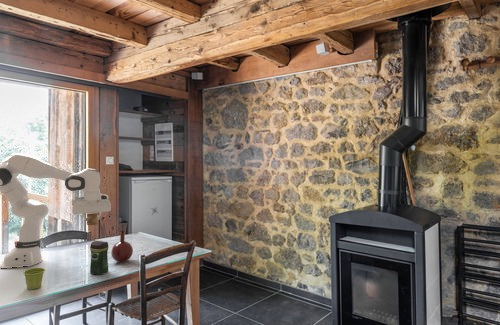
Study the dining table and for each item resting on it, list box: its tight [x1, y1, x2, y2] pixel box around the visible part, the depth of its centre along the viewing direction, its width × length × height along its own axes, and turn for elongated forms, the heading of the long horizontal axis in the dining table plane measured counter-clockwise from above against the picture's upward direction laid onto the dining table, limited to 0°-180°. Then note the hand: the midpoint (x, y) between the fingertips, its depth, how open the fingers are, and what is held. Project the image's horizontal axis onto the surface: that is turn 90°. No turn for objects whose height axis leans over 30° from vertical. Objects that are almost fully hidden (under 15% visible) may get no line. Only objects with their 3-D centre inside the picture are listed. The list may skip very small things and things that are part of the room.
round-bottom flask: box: [110, 230, 134, 263], centre depth 214 cm, size 13×13×20 cm
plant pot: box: [23, 267, 46, 290], centre depth 171 cm, size 9×9×9 cm
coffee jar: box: [89, 240, 109, 276], centre depth 193 cm, size 10×8×19 cm
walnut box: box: [86, 212, 99, 226], centre depth 191 cm, size 5×5×6 cm
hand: (92, 220), depth 191 cm, fingers closed on walnut box, 5 cm apart
